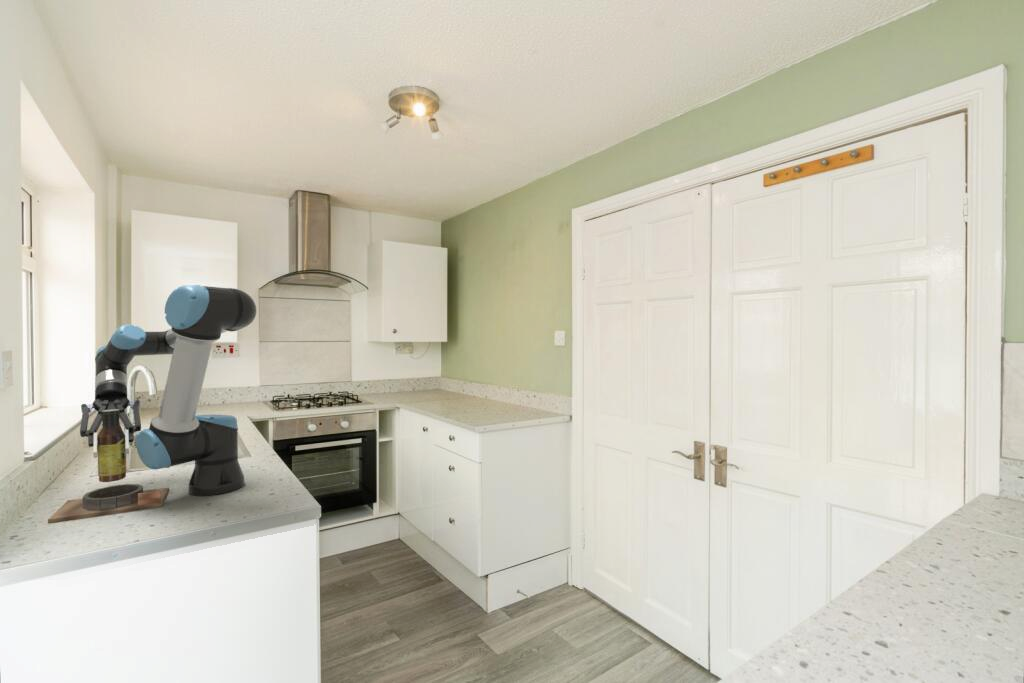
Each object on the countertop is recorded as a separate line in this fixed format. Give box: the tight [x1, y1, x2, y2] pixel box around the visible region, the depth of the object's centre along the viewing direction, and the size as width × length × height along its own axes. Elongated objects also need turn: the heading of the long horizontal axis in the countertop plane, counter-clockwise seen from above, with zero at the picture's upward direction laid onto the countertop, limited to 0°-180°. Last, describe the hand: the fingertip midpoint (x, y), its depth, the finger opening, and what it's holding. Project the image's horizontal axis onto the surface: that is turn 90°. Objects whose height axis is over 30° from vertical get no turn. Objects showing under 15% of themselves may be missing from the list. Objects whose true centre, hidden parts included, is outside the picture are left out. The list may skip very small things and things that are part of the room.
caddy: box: [47, 483, 170, 524], centre depth 139 cm, size 24×16×4 cm, turn 119°
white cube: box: [126, 448, 132, 472], centre depth 173 cm, size 7×7×7 cm
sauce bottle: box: [97, 409, 127, 483], centre depth 139 cm, size 7×6×20 cm
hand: (111, 452), depth 136 cm, fingers closed on sauce bottle, 6 cm apart
